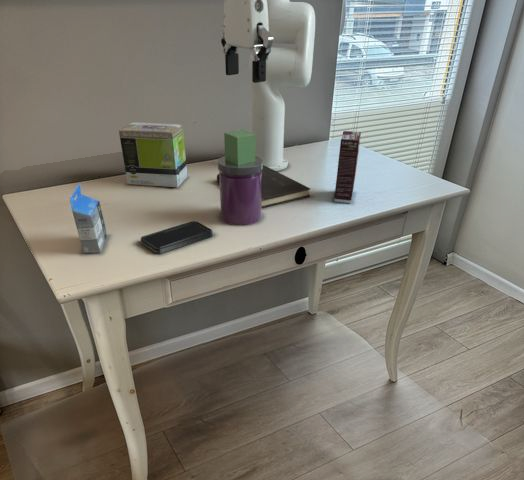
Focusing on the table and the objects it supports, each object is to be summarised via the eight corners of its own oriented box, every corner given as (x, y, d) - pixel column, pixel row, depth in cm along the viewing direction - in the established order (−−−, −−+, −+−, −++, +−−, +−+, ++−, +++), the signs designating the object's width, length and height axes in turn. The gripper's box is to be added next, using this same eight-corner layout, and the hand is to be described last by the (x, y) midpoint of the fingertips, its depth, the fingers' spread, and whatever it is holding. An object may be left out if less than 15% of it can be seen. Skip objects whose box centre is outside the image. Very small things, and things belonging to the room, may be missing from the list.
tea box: (188, 177, 145) (183, 123, 136) (177, 188, 137) (172, 132, 128) (139, 173, 147) (131, 120, 138) (126, 185, 139) (117, 129, 130)
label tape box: (101, 253, 106) (89, 197, 99) (81, 254, 106) (68, 198, 98) (107, 235, 113) (97, 182, 106) (89, 236, 113) (77, 182, 105)
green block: (225, 160, 114) (224, 132, 111) (242, 156, 117) (242, 129, 113) (237, 165, 111) (237, 137, 108) (255, 161, 114) (255, 134, 110)
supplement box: (351, 204, 130) (359, 140, 120) (333, 202, 131) (339, 139, 121) (353, 192, 137) (361, 131, 127) (336, 190, 137) (342, 130, 127)
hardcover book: (263, 172, 149) (263, 164, 147) (309, 196, 134) (310, 188, 132) (216, 182, 142) (216, 174, 140) (260, 208, 127) (260, 199, 125)
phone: (214, 231, 113) (157, 249, 105) (214, 235, 114) (157, 254, 106) (194, 220, 118) (138, 237, 110) (195, 224, 118) (139, 241, 110)
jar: (212, 215, 123) (209, 159, 115) (245, 205, 128) (244, 151, 120) (236, 229, 117) (235, 171, 108) (270, 218, 122) (272, 162, 113)
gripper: (287, -19, 93) (284, 82, 104) (234, -23, 104) (236, 70, 114) (255, -18, 90) (255, 87, 100) (203, -22, 100) (208, 73, 111)
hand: (245, 78), depth 107 cm, fingers open, 9 cm apart
